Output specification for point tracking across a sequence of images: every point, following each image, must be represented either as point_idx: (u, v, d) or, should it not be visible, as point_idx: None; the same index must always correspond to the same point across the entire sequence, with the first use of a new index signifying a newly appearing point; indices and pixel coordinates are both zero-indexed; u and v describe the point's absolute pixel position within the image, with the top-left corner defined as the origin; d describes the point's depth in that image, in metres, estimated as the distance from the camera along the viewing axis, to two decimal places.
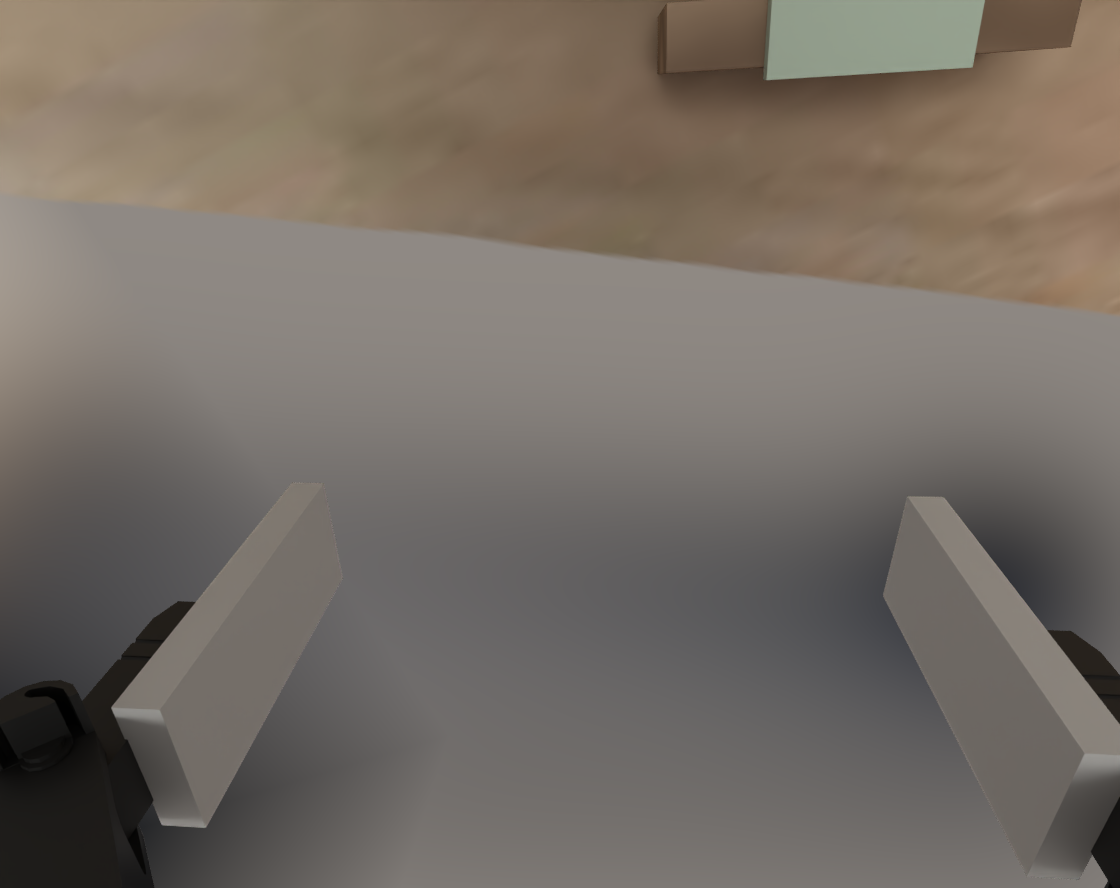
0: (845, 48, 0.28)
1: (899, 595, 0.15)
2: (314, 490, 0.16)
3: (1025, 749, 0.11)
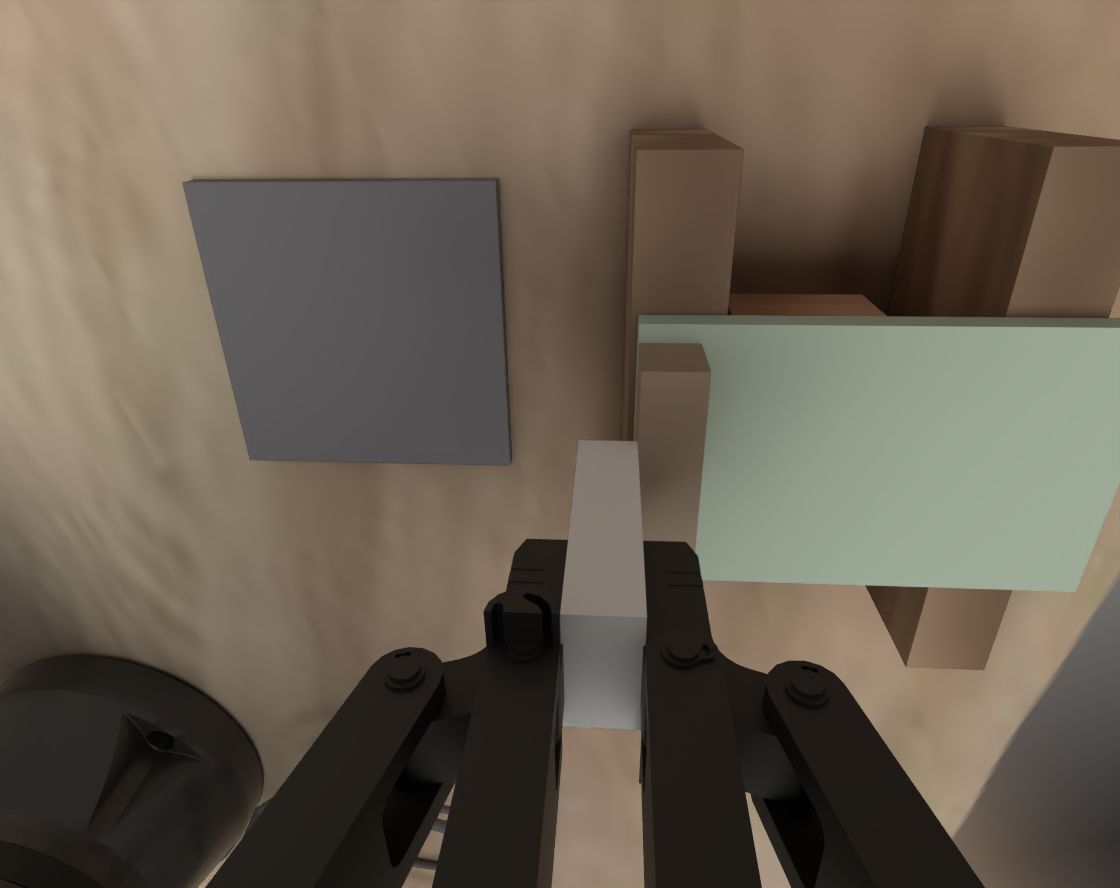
0: (1074, 504, 0.19)
1: None
2: (605, 446, 0.17)
3: None
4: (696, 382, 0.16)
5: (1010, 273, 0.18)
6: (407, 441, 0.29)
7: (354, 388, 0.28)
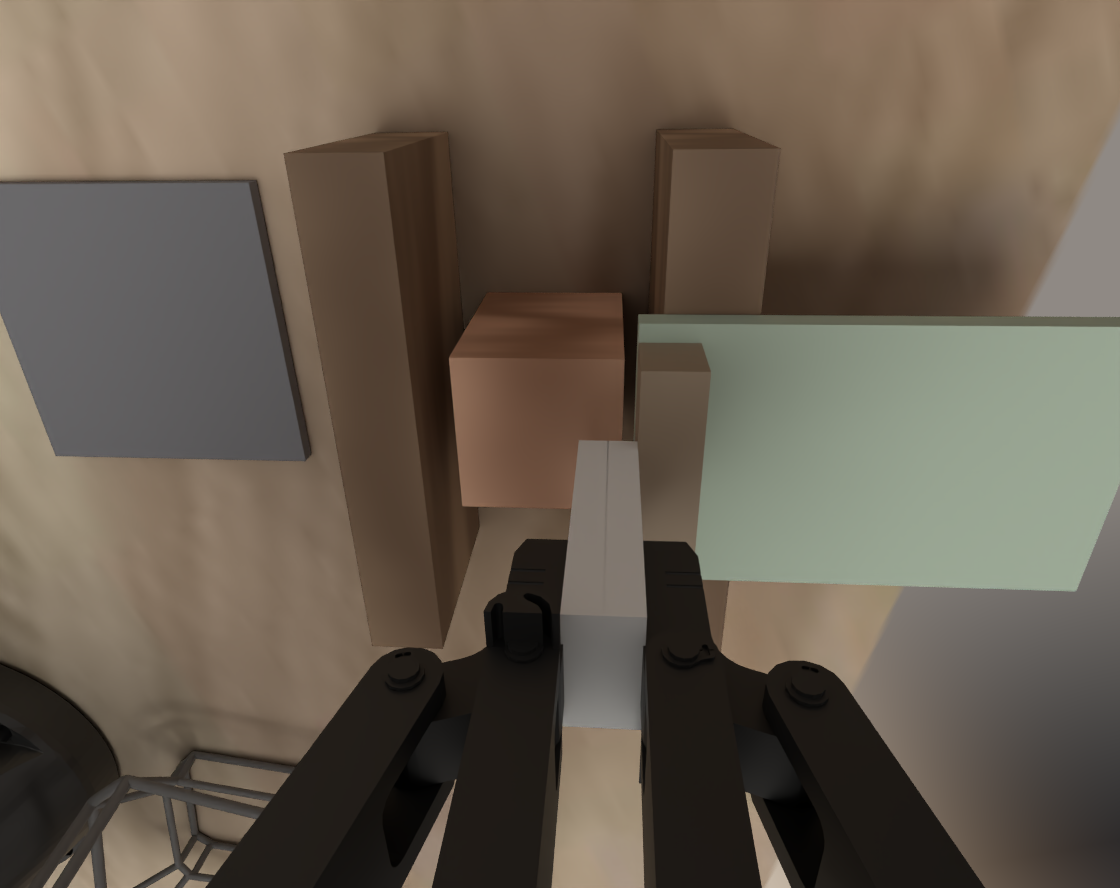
0: (1075, 503, 0.19)
1: None
2: (605, 446, 0.17)
3: None
4: (696, 381, 0.16)
5: (665, 271, 0.18)
6: (203, 437, 0.29)
7: (145, 385, 0.28)
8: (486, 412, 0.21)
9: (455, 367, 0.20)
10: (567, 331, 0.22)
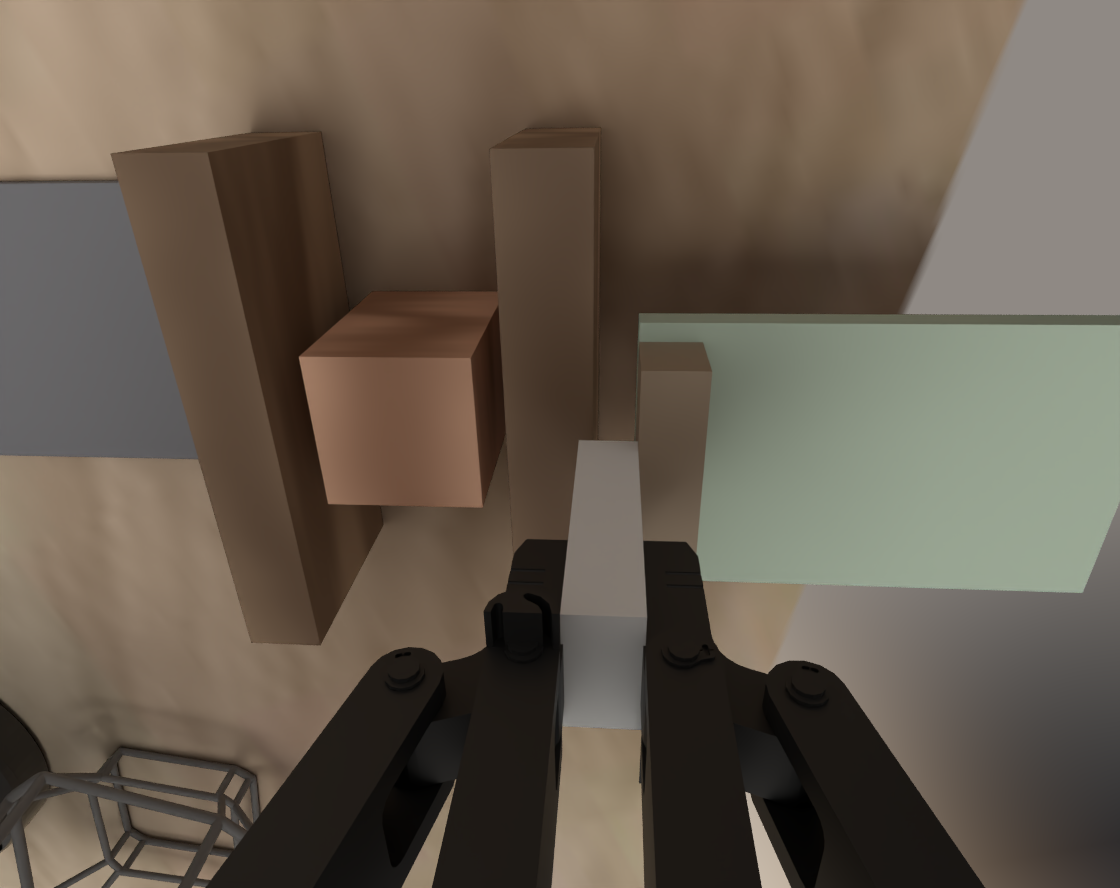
0: (1081, 503, 0.19)
1: None
2: (605, 446, 0.17)
3: None
4: (697, 381, 0.16)
5: (498, 270, 0.18)
6: (103, 435, 0.30)
7: (42, 384, 0.29)
8: (342, 411, 0.21)
9: (306, 366, 0.20)
10: (430, 330, 0.22)
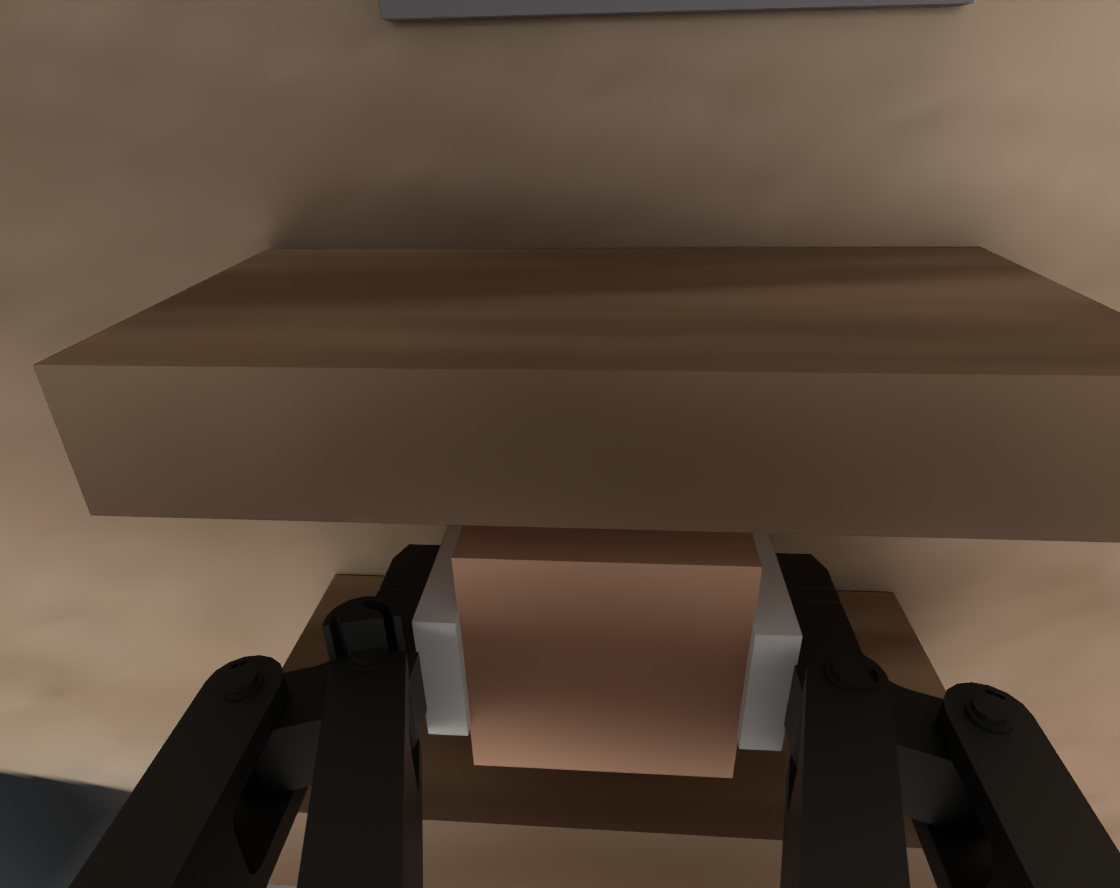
0: None
1: None
2: None
3: None
4: None
5: None
6: None
7: None
8: (651, 611, 0.12)
9: (741, 574, 0.11)
10: None
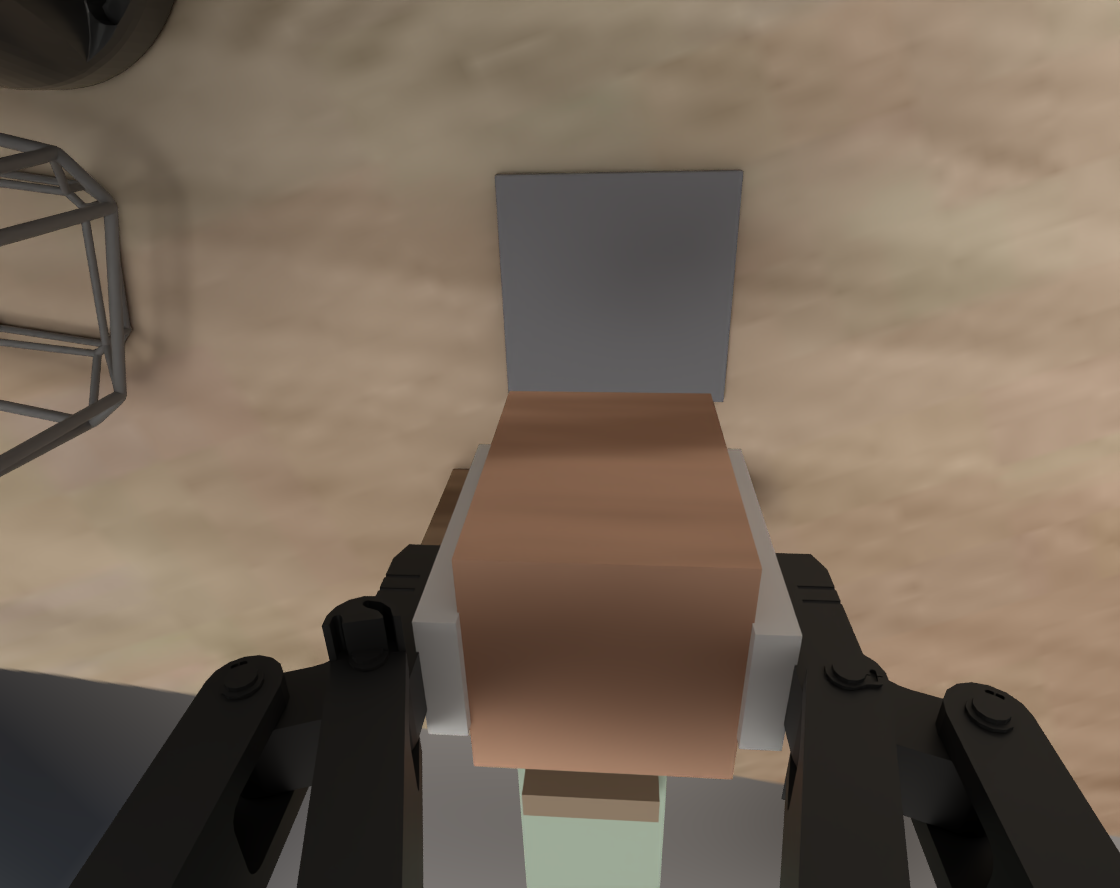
0: None
1: None
2: None
3: None
4: (653, 818, 0.36)
5: None
6: (524, 323, 0.35)
7: (570, 285, 0.34)
8: (651, 613, 0.12)
9: (741, 575, 0.11)
10: None
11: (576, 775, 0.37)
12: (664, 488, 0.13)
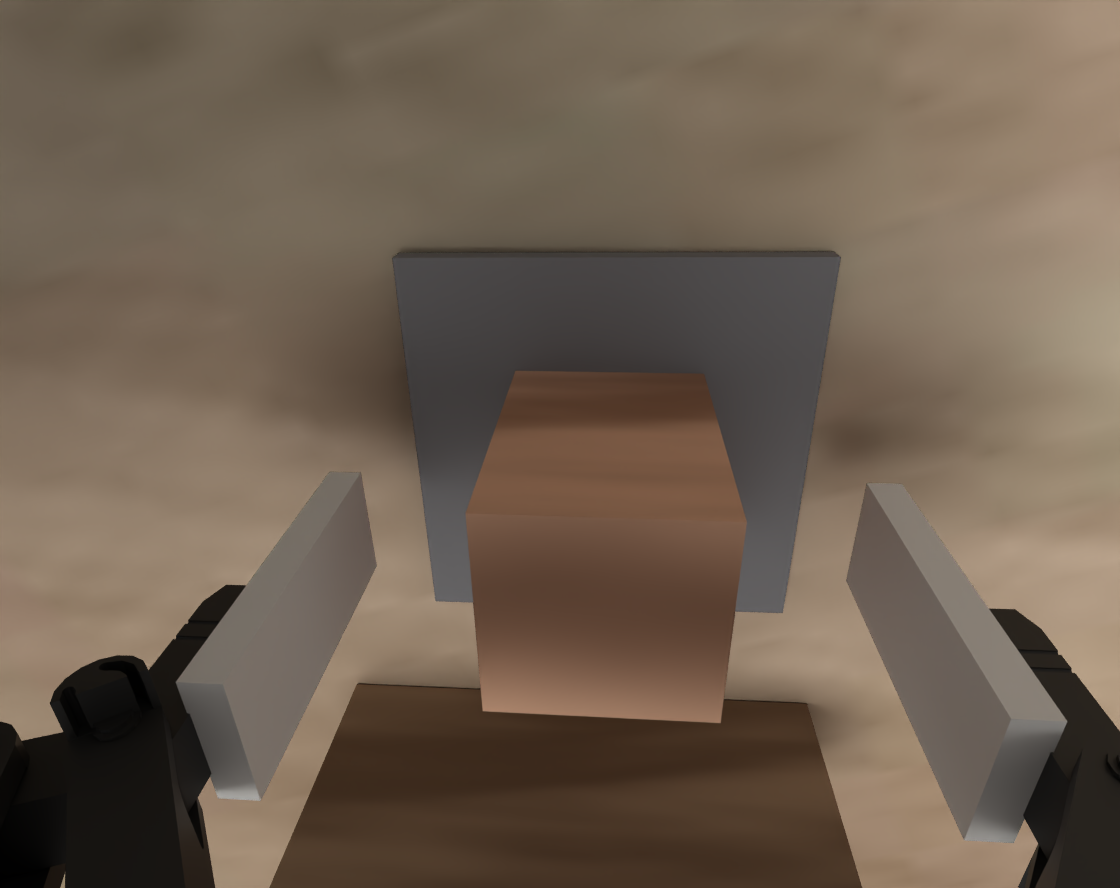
0: None
1: (860, 579, 0.16)
2: (352, 479, 0.16)
3: (963, 719, 0.11)
4: None
5: None
6: (455, 491, 0.21)
7: None
8: (646, 564, 0.13)
9: (728, 528, 0.12)
10: None
11: None
12: (659, 454, 0.15)
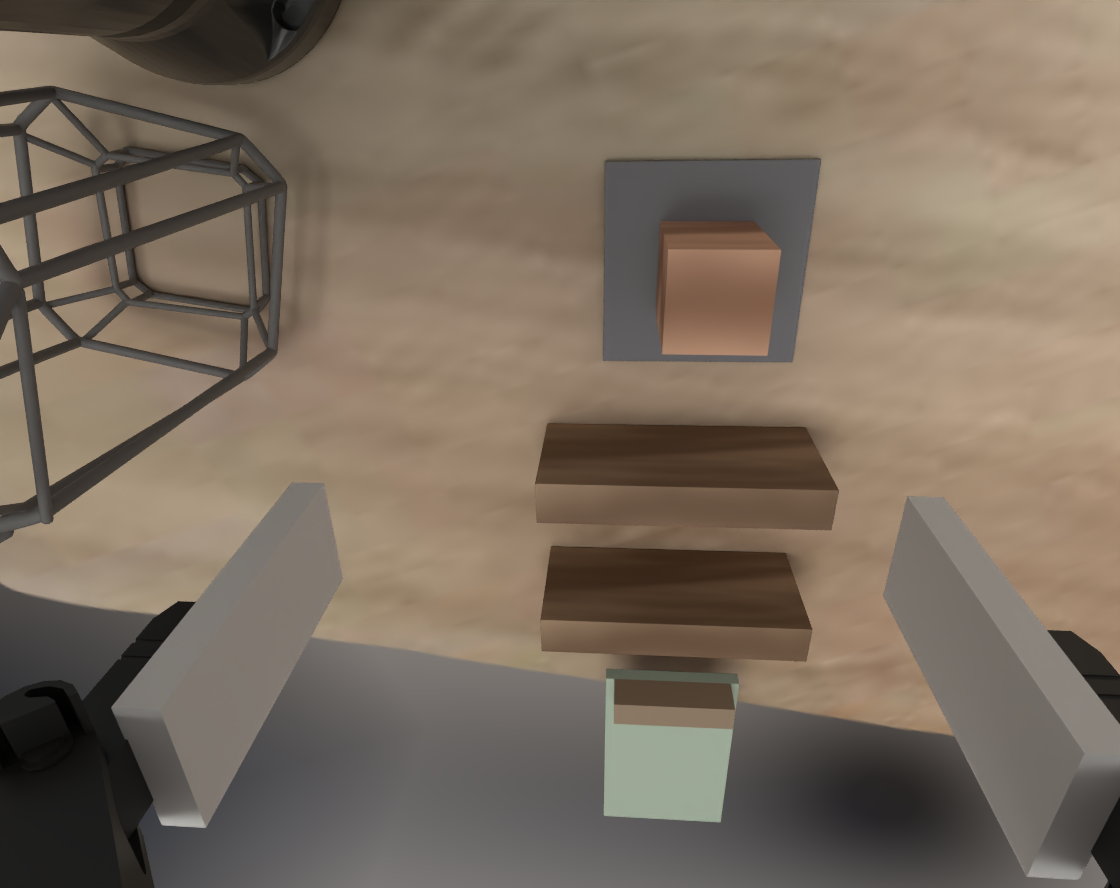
0: (647, 809, 0.49)
1: (899, 595, 0.15)
2: (314, 490, 0.16)
3: (1025, 749, 0.11)
4: (729, 725, 0.41)
5: (759, 623, 0.42)
6: (622, 291, 0.40)
7: None
8: (739, 271, 0.32)
9: (773, 253, 0.32)
10: None
11: (659, 689, 0.42)
12: (741, 238, 0.34)
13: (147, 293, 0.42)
